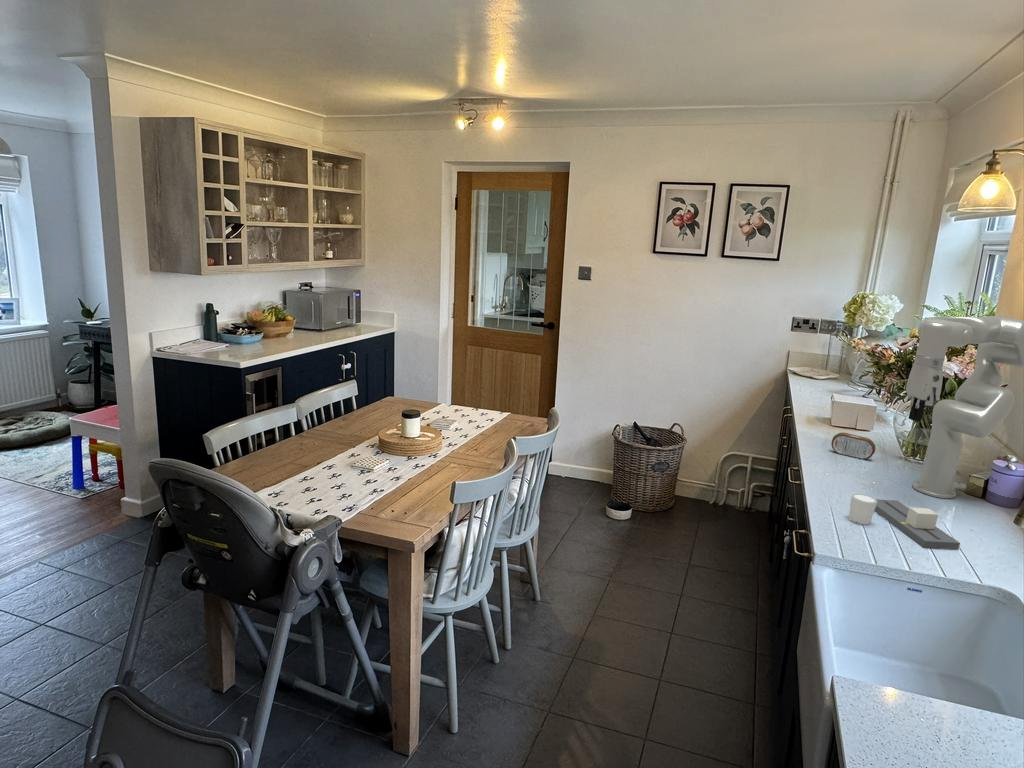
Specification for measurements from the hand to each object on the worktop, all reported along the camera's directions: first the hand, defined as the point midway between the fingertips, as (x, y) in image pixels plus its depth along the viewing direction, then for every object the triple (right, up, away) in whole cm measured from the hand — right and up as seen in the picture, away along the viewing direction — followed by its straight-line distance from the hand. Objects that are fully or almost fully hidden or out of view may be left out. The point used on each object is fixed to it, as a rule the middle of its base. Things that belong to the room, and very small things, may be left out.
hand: (914, 419), depth 211 cm
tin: (+4, -17, +48) cm, 51 cm away
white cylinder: (-23, -29, -12) cm, 39 cm away
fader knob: (-9, -29, -17) cm, 35 cm away
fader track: (-9, -30, -13) cm, 34 cm away
